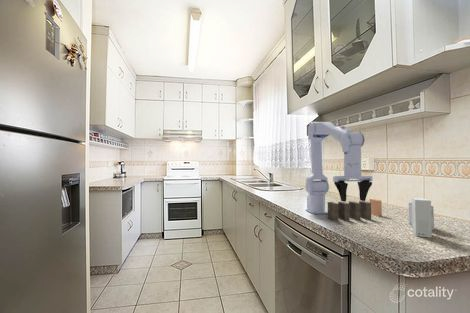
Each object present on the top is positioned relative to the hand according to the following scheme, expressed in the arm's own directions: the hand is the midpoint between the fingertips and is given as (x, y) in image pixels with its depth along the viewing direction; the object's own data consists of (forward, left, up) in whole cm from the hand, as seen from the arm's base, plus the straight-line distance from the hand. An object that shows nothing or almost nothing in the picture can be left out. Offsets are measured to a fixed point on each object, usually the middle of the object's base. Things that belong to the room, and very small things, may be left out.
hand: (353, 200), depth 86 cm
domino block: (-14, +15, -10) cm, 23 cm away
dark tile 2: (-14, +5, -10) cm, 18 cm away
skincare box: (+10, +18, -10) cm, 23 cm away
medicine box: (+2, +26, -10) cm, 28 cm away
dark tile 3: (-14, +10, -10) cm, 20 cm away
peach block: (-19, +24, -10) cm, 32 cm away
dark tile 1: (-14, 0, -10) cm, 17 cm away
